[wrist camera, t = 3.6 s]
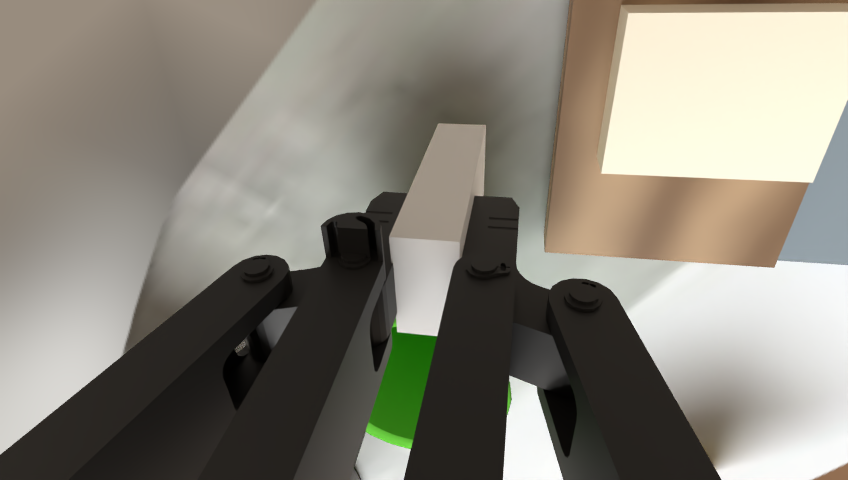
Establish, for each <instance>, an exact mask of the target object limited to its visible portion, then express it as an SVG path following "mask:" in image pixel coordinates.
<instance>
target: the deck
mask: <svg viewBox="0 0 848 480" xmlns="http://www.w3.org/2000/svg"><path fill="white" fill-rule="evenodd" d="M791 3H848V0H570V3H569V12H568V21H567V30H566V39H565V48H564V57H563V67H562V76H561V85H560V94H559V103H558V112H557V121H556V130H555V139H554V148H553V157H552V166H551V175H550V184H549V193H548V202H547V211H546V220H545V229H544V246H545V252H551V253H566V254H580V255H595V256H610V257H624V258H639V259H654V260H669V261H683V262H698V263H713V264H728V265H742V266H757V267H772V268H774V267H775V264H776V262H777V260H778V257H779V255H780V252H781V250H782V248H783V245H784V243H785V240H786V238H787V236H788V233H789V231H790V229H791V226H792V224H793V221H794V219H795V217H796V214H797V212H798V209H799V207H800V205H801V202H802V200H803V197H804V195H805V193H806V190H807V188H808V185H809V183H810V182H786V181H763V180H740V179H716V178H693V177H670V176H646V175H623V174H601V171H600V167H599V163H598V159H597V151H598V145H599V139H600V133H601V126H602V120H603V114H604V108H605V102H606V95H607V89H608V83H609V77H610V71H611V64H612V58H613V52H614V46H615V39H616V33H617V27H618V21H619V15H620V8H621V5H670V4H791Z"/></svg>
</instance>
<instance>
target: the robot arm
mask: <svg viewBox="0 0 848 480" xmlns="http://www.w3.org/2000/svg"><path fill="white" fill-rule="evenodd" d="M485 142H486V125H472V124H441V123H438V125H437V128H436V130H435V132H434V134H433V137H432V139H431V141H430V144H429V146H428V148H427V151H426V153H425V155H424V157H423V160H422V162H421V164H420V167H419V169H418V171H417V174H416V176H415V178H414V180H413V183H412V185H411V187H410V190H409V192H408V193H394V192H383V193H381V194H380V195H379V196H377V197H376V198H374V199H373V200H372V201H371V202H370V204H369V206H368V208H367V210H366V213H360V212H357V213H345V214H341V215H336V216H334V217H332V218H330V219H328V220H327V221H326V222H324V223H323V224H322V225H321V230H322V236H323V242H324V248H325V253H326V259H325V260H324V262H323V264H322V266H321V267H317V268H312V269H305V270H297V271H290V270H289V266H288V264H287V262H286V261H285V260H284V259H282V258H280V257H278V256H272V255H261V256H254V257H251V258H248V259H245V260H243V261H241V262H239V263H238V264H236V265H234V266H233V267H232V268H231V269H229V270H228V271H227V272H226V273H224V274H223V275H222V276H221V277H219V278H218V279H217V280H216V281H215V282H213V283H212V284H211V285H210V286H208V287H207V288H206V289H205V290H203V291H202V292H201V293H200V294H198V295H197V296H196V297H195V298H194V299H192V300H191V301H190V302H189V303H187V304H186V305H185V306H184V307H182V308H181V309H180V310H179V311H177V312H176V313H175V314H174V315H173V316H171V317H170V318H169V319H168V320H166V321H165V322H164V323H163V324H161V325H160V326H159V327H158V328H156V329H155V330H154V331H153V332H151V333H150V334H149V335H148V336H147V337H145V338H144V339H143V340H142V341H140V342H139V343H138V344H137V345H135V346H134V347H133V348H132V349H130V350H129V351H128V352H127V353H126V354H124V355H123V356H122V357H121V358H119V359H118V360H117V361H116V362H114V363H113V364H112V365H111V366H110V367H108V368H107V369H106V370H105V371H103V372H102V373H101V374H100V375H98V376H97V377H96V378H95V379H93V380H92V381H91V382H90V383H88V384H87V385H86V386H85V387H83V388H82V389H81V390H80V391H79V392H77V393H76V394H75V395H74V396H72V397H71V398H70V399H69V400H67V401H66V402H65V403H64V404H63V405H61V406H60V407H59V408H58V409H56V410H55V411H54V412H53V413H51V414H50V415H49V416H48V417H46V418H45V419H44V420H43V421H41V422H40V423H39V424H38V425H37V426H36V427H34V428H33V429H32V430H31V431H29V432H28V433H27V434H25V435H24V436H23V437H22V438H20V440H18V441H17V442H16V443H14V444H13V445H12V446H11V447H9V448H8V449H7V450H6V451H4V452H3V453H2V454H1V455H0V480H360V479H359V476H358V474H357V472H356V471H355V469H354V466H355V463H356V460H357V457H358V454H359V451H360V447H361V444H362V441H363V438H364V435H365V432H366V429H367V425H368V422H369V419H370V416H371V413H372V410H373V407H374V403H375V400H376V397H377V394H378V391H379V388H380V385H381V381H382V378H383V375H384V372H385V369H386V366H387V362H388V359H389V356H390V353H391V350H392V332H391V329H392V326H393V323H394V320H395V318H396V324H397V332H401V333H411V334H420V335H430V336H437V339H436V343H435V348H434V352H433V356H432V361H431V365H430V369H429V374H428V378H427V382H426V387H425V391H424V395H423V399H422V404H421V408H420V412H419V417H418V421H417V425H416V430H415V434H414V438H413V443H412V447H411V451H410V455H409V460H408V464H407V468H406V473H405V477H404V480H503V467H504V451H505V435H506V419H507V403H508V388H509V375H510V376H512V377H515V378H518V379H520V380H523V381H525V382H528V383H530V384H533V385H535V386H537V393H538V396H539V400H540V403H541V406H542V410H543V413H544V416H545V420H546V423H547V427H548V430H549V433H550V437H551V440H552V443H553V447H554V450H555V453H556V457H557V460H558V463H559V467H560V470H561V473H562V477H563V480H721V478H720V477H719V475H718V473H717V471H716V470H715V468H714V466H713V464H712V463H711V461H710V459H709V457H708V456H707V454H706V452H705V450H704V449H703V447H702V445H701V443H700V442H699V440H698V438H697V436H696V435H695V433H694V431H693V429H692V428H691V426H690V424H689V422H688V421H687V419H686V417H685V415H684V414H683V412H682V410H681V408H680V407H679V405H678V403H677V401H676V400H675V398H674V396H673V394H672V393H671V391H670V389H669V387H668V386H667V384H666V382H665V380H664V379H663V377H662V375H661V373H660V372H659V370H658V368H657V366H656V365H655V363H654V361H653V360H652V358H651V356H650V354H649V353H648V351H647V349H646V347H645V346H644V344H643V342H642V340H641V339H640V337H639V335H638V333H637V332H636V330H635V328H634V326H633V325H632V323H631V321H630V319H629V318H628V316H627V314H626V312H625V311H624V309H623V307H622V305H621V304H620V302H619V300H618V298H617V297H616V296H615V295H614V293H613V292H612V291H611V290H610V289H608V288H607V287H605V286H603V285H602V284H600V283H597V282H594V281H590V280H587V279H568V280H563V281H560V282H559V283H557V284H555V285H553V286H552V288H551V290H549V289H546V288H543V287H540V286H538V285H535V284H533V283H531V282H529V281H528V280H526V279H525V278H524V277H523V276H522V275H521V274H520V273H519V271H518V270H517V266H516V254H517V237H518V220H519V207H518V206H517V204H516V203H515V201H514V200H513V199H512V198H506V197H488V196H484V173H485ZM244 339H245V342H246V346H245V347H244V348H243V349H242V350H241V351H239V352H238V353H236V352H235V348H236V347H237V346H238V345H239V344H240V343H241V342H242V341H243V340H244Z"/></svg>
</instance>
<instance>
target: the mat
mask: <svg viewBox="0 0 848 480" xmlns="http://www.w3.org/2000/svg"><path fill="white" fill-rule="evenodd" d="M778 260H779V261H795V262H810V263H825V264H840V265H848V100H847V103H846V105H845V107H844V110H843V112H842V115H841V117H840V119H839V122H838V124H837V126H836V129H835V131H834V134H833V136H832V138H831V141H830V143H829V145H828V148H827V150H826V153H825V155H824V157H823V160H822V162H821V164H820V167H819V169H818V172H817V174H816V176H815V179H814V181H813V183H809V185H808V188H807V190H806V193H805V195H804V197H803V200H802V202H801V205H800V207H799V209H798V212H797V214H796V217H795V219H794V221H793V224H792V226H791V229H790V231H789V233H788V236H787V238H786V240H785V243H784V245H783V248H782V250H781V252H780V255H779V257H778Z"/></svg>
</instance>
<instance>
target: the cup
mask: <svg viewBox="0 0 848 480" xmlns="http://www.w3.org/2000/svg"><path fill="white" fill-rule="evenodd" d="M391 332H392V350H391V353H390V356H389V359H388V362H387V366H386V369H385V372H384V375H383V378H382V381H381V385H380V388H379V391H378V394H377V397H376V400H375V403H374V407H373V410H372V413H371V416H370V419H369V422H368V425H367V429H366V432H367V433H369V434H370V435H372V436H374V437H377V438H379V439H381V440H383V441H385V442H388V443H390V444H394V445H397V446H401V447H405V448H408V449H411V447H412V443H413V438H414V434H415V430H416V425H417V421H418V417H419V412H420V408H421V404H422V399H423V395H424V391H425V387H426V382H427V378H428V374H429V369H430V365H431V361H432V356H433V352H434V348H435V343H436V339H437V336H430V335H420V334H411V333H401V332H397V324H396V318H395V320H394V323H393V326H392V329H391ZM511 400H512V398H511V388H510V382H509V388H508V403H507V415H508V411H509V407H510V404H511Z"/></svg>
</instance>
